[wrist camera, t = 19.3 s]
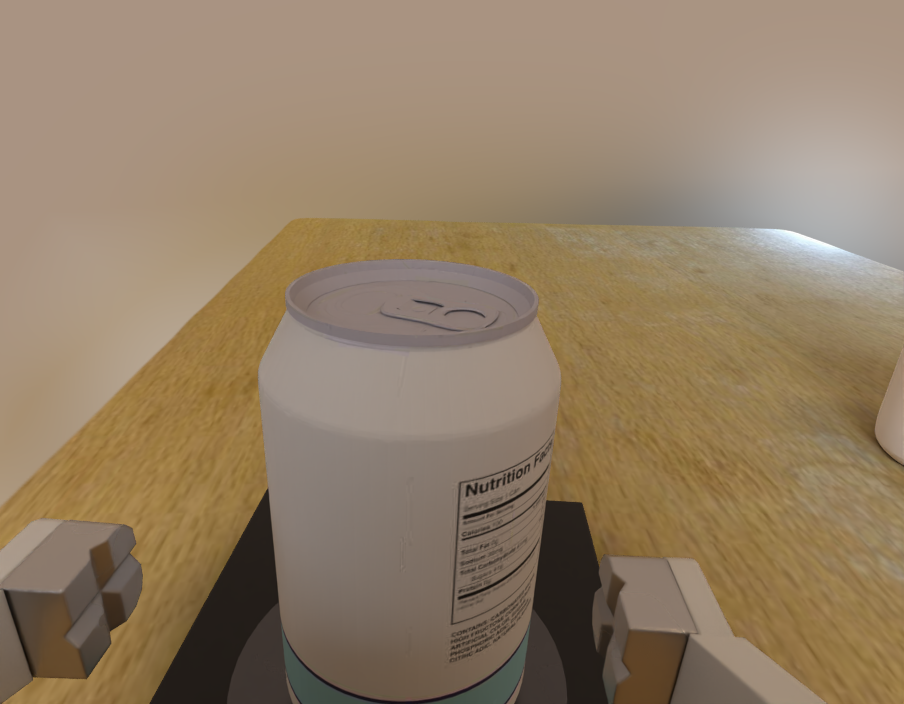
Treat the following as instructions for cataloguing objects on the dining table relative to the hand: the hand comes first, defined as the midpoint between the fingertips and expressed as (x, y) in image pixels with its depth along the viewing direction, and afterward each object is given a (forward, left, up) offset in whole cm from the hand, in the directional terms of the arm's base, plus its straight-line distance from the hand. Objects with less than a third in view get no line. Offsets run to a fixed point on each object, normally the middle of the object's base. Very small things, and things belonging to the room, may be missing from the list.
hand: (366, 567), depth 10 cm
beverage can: (+4, +3, -9) cm, 10 cm away
